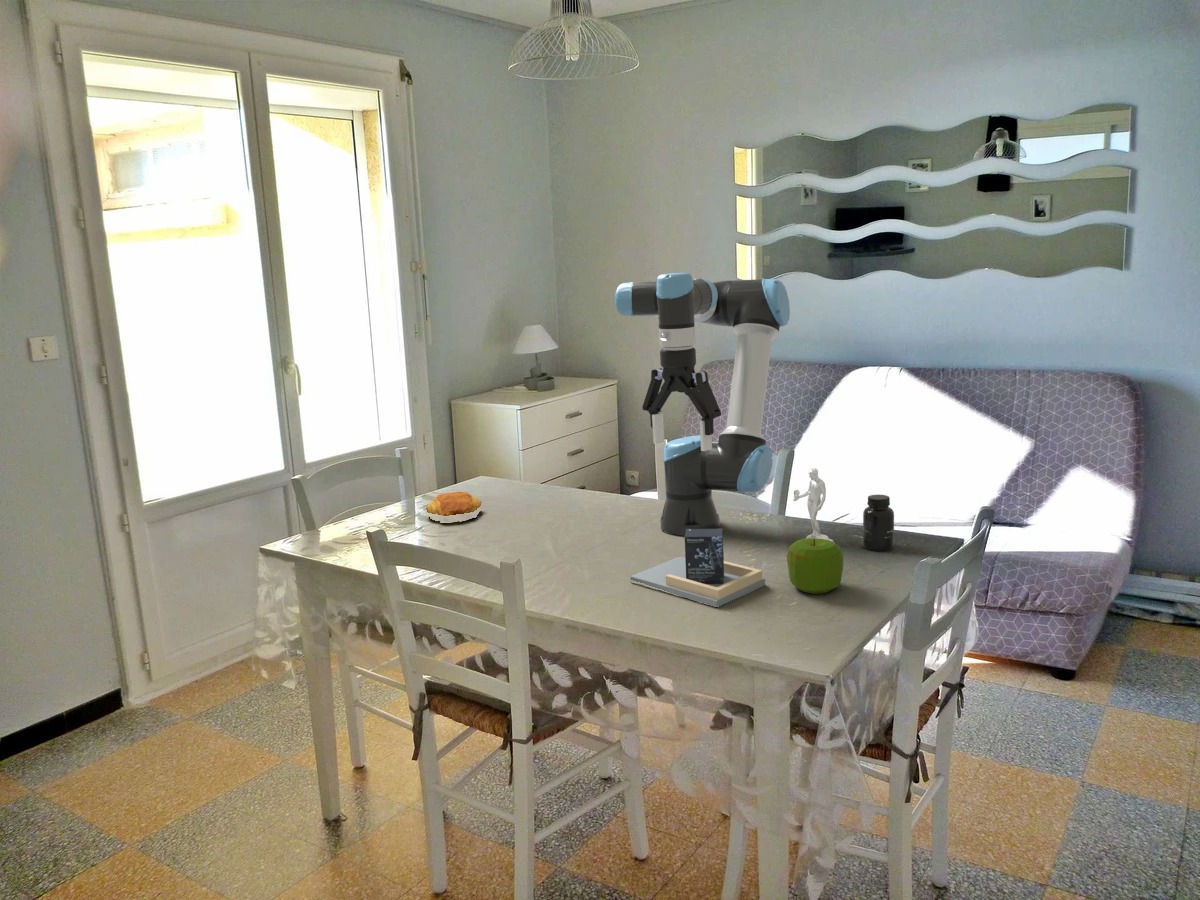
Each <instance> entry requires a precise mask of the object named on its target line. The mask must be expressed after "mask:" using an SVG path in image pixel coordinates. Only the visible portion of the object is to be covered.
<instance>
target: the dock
mask: <svg viewBox="0 0 1200 900" xmlns="http://www.w3.org/2000/svg"><path fill="white" fill-rule="evenodd" d="M631 580H633V581H636V582H640V583H644V584H646V585H649V586H652V587H655V588H658V589H662V590H664V591H667V592H670V593H673V594H676V595H679V596H682V597H685V598H689V599H692V600H695V601H698V602H702V603H706V604H709V605H712V606H715V607H718V606H720V605H723V604H725V603H727V602H729V603H731V602H733V601H735V600H737V599H739V598H742V597H744V596H745V595H748V594H750V593H752V592H754V591H755V590H758V589H760V588H762V587H765V586H766V578H764V577H763V570H762V569H759V568H758V569H757V568H755V567H750V566H745V565H742V564H738V563H734V562H729V561H726V560H724V581H723V584H719V583H700V582H696V581H692V580H689V579H686V560H685V557H683V556H678V557H675V558H672V559H670V560H668V561H665V562H663V563H660V564H657V565H655V566H652V567H650V568H647V569H645V570H643V571H640V572H638V573H636V574H633V575H631V576H630V581H631ZM736 598H737V599H736ZM734 599H735V600H734ZM732 600H733V601H732ZM730 601H731V602H730ZM727 604H728V603H727ZM725 605H726V604H725ZM723 606H724V605H723ZM720 607H721V606H720ZM718 608H719V607H718Z"/></svg>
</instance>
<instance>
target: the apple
mask: <svg viewBox="0 0 1200 900" xmlns="http://www.w3.org/2000/svg"><path fill="white" fill-rule="evenodd" d="M834 542H835V541H834ZM834 542H832V541H829V540H825V539H817V538H806V539H805V538H801V539H798V540H795V541H794V542H793V543H791V545H790V546H789V547H788V550H787V554H786V562H787V570H788V575H789V576H788V577H789V581H790V583H791V585H792V586H794V587H796V588H797V589H798V590H800V591H801V592H804V593H807V594H811V595H812V594H813V595H819V594H820V595H821V594H825V593H828V592H829V591H831V590H834V589H835V588H837V587H839V586H840V585H841V584H842V583H841V582H842V577H843V576H842V575H843V572H844V554H843V551H842V548H841V547H840V546H839V545H837V544H836V542H835V543H834Z"/></svg>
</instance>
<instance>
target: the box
mask: <svg viewBox="0 0 1200 900" xmlns="http://www.w3.org/2000/svg"><path fill="white" fill-rule="evenodd" d="M684 552H685V553H684V555H685V556H684V558H685V560H686V579H689V580H692V581H696V582H700V583H719V584H723V581H724V561H725V559H724V557H725V556H724V555H725V554H724V552H725V551H724V529H723V528H718V529H686V534H685V535H684Z"/></svg>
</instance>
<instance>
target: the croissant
mask: <svg viewBox="0 0 1200 900" xmlns="http://www.w3.org/2000/svg"><path fill="white" fill-rule="evenodd" d="M481 503H482V504H483V502H482V501H481V500H480V499H478V498H477V497H475V495H472V494H470V493H469V492H467V491H466V492H465V491H452V492H447V493H441V494H438V495H436V497H435V498H434V499H433V500H432V501H431V502H430V503H428V505H427V506H426V508H425V511H426V510H427V512H428V513H432V514H436V513H437V514H438V515H442V516H449V515H456V514H464V513H470V512H474V511H475V510H477V508H479V507H480V506H481Z"/></svg>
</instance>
